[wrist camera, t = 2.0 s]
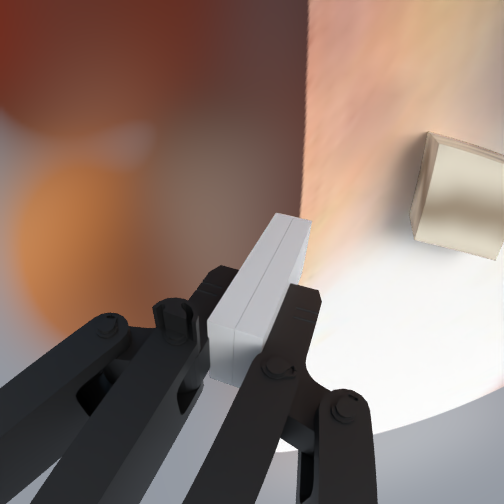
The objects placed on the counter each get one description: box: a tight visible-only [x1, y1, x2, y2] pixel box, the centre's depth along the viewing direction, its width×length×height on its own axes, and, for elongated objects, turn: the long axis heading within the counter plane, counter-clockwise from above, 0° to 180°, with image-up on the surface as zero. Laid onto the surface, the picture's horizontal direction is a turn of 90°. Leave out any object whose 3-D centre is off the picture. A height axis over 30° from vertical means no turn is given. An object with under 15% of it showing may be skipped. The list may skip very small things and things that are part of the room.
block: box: [409, 131, 504, 261], centre depth 22 cm, size 8×8×5 cm
